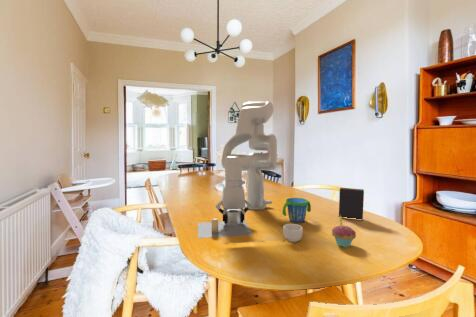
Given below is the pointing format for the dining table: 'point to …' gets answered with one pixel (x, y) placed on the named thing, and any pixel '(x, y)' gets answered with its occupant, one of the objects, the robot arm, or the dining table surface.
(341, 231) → the cupcake
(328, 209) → the dining table surface
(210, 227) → the stand
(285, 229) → the teacup
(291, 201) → the snack cup
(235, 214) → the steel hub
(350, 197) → the black upright rectangular panel
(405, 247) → the dining table surface
